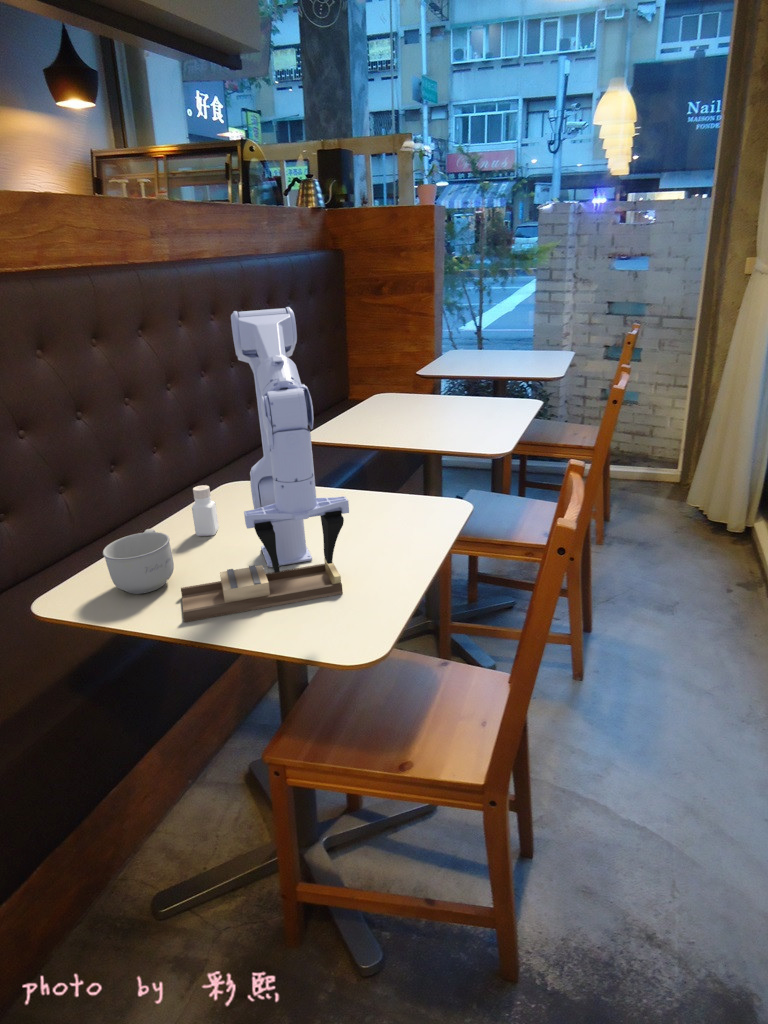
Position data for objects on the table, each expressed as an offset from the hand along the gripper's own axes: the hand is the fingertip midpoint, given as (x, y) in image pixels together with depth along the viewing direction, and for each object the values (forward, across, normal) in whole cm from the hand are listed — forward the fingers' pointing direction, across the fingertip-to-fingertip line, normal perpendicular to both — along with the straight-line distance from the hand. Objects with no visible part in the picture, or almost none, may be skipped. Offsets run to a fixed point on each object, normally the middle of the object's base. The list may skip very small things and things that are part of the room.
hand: (302, 565), depth 108 cm
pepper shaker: (+10, -12, +45) cm, 48 cm away
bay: (+10, -5, +13) cm, 17 cm away
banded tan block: (+10, -8, +13) cm, 18 cm away
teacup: (+10, -23, +26) cm, 36 cm away
